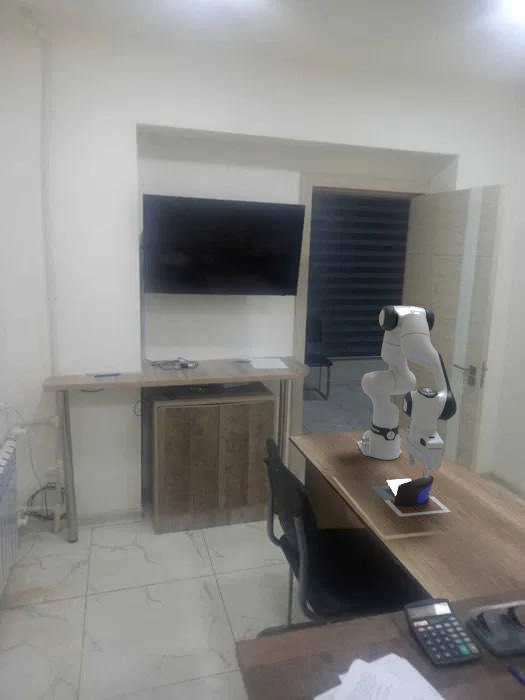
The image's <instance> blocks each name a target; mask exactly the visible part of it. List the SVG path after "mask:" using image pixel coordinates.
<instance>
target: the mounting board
mask: <svg viewBox="0 0 525 700" xmlns="http://www.w3.org/2000/svg"><path fill="white" fill-rule="evenodd" d="M371 489H372V490H374V492H375V493H376V494H377V495H378V496H379V497H380V498H381V499H382V500H383V501H384V502H385V503H386V505H388V506H389V507H390V508H391V509H392V510H393V511H394V512H395V514H396V515H397V516H398V517H410V516H411V517H413V516H420V515H421V516H422V515H423V516H424V515H431V514H443V513H452V510H450V509H449V508H448V507H446V505H444V504H443V503H442V502H441V501H439V499H437V498H436V497H435V496H434V495H433V494H431V493H430V494H429V498H428V499H431V501H433V502H434V503H435V504H436V505H438V507H439V508H440V509H439V510H431V511H419V512H408V513H403V512H402V511H400V509H398V507H396V506H397V505H395V503H394V504H393V503H392V501H395V497H394V495H393V494H392V492H391V490H390V488H389V487H388V485H380V486H377V485H376V486H371ZM441 509H442V510H441Z"/></svg>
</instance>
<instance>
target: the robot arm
mask: <svg viewBox="0 0 525 700" xmlns="http://www.w3.org/2000/svg"><path fill="white" fill-rule="evenodd" d="M380 310H381V311H380V313H379V316H378V321H379V322H378V323H379V326H380V327H381V329H382V330H384V331H385V332H384V334H383V341H382V347H381V351H380V357H381V359H382V361H384V362H385V363H386V364H387V365H388V369H387V370H375V371H371V372H367V373H364V375H363V377H362V378H361V383H360V384H361V388H362V389H361V390H363V393H364V394H366V395H367V396H368V397H369V398H370V400H371V403H372V408H373V417H372V421H371V422H370V427H369V428H370V429H369V430H367V431H365V432H364V433H363V434H362V436H361V440H359V441H357V446H358V448H359V450H360V451H361V453H362V455H363V456H365V457H372V458H374V459H379V460H384V461H386V460H395V459H398V458H399V457H400V455H401V454H403V450H405V451H406V452H407V456H408V465H409V466H411V467H415V466H416V460H417V461H418V462H419V463H420V464H422V465H423V467H424V471H422V478H423V477H425V478H428V477H429V476H430V473H431V472H432V471H439V470H440V469H441V466H442V460H443V449H442V448H444V446H445V441H444V440H443V439H442V438H441V436H440V435H439V432H438V431H437V430H438V425H437V420H440V421H448V420H451V418H453V417H454V416H455V415H456V413H457V402H456V398H455V396H454V393H453V390H452V388H451V384H450V381H449V377H448V374H447V370H446V365H445V363H444V360H443V357H442V355H441V353H440V352H438V351H437V350H436V349H435V347H434V346H433V344H432V341H431V333H430V332H431V331H432V330H433V328H434V326H435V321H436V320H435V318H436V317H435V314H434V312H433V310H432V309H431V308H427V307H419V306H413V305H384V306H383V307H382V309H380ZM408 361H410V362H412V363H413V364H417V365H419V366H421V367H424V368H426V369H428V370H429V371H430V373H432V374H431V375H432V376H433V379H434V384H435V387H436V389H434V388H432V387H426V386H421V387H418V388H417V389H416V387H417V378H416V376H415V374H414V373H413V372H412V371H411V370H410V368H409V365H408ZM415 389H416V390H415ZM396 395H397V396H398V395H403V400H402V411H403V413H404V414H405V415H406V416H407V417H408V418H411V421H410V425H409V426H407V427H406V431H405V432H404V435H403V440H402V444H401V437H400V435H399V430H400V428H399V427H400V426H399V418H400V417H399V416H400V410H399V408H398V406H397V404H395V403H393V402H391V396H396ZM401 445H402V448H403V450H402V449H401Z"/></svg>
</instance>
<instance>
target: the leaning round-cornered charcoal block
mask: <svg viewBox="0 0 525 700" xmlns="http://www.w3.org/2000/svg"><path fill="white" fill-rule="evenodd" d="M434 480H435V479H434V476H433V475H429V477H428V478H425V477H423V476H422V477H419V478H417V479H414V480H411V481H409V482H406V483H402V484H400V485H399V486H398V489H397V493H396V497H395V500H393V501H394V505H395V506H399V507H400V506H401V507H412V506H418V505H423V504H424V503H426V502H427V501H428V499H430V498H429V494H431V490H432V488H433V487H432V486H433V483H434Z"/></svg>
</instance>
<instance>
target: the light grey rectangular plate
mask: <svg viewBox="0 0 525 700" xmlns="http://www.w3.org/2000/svg"><path fill="white" fill-rule="evenodd" d="M409 481H412V479H411V478H401V479H400V478H399V479H387V480H386V481H385V483H386V486H388V487H389V488H390V490H391V492H392V494H393V495H394V497H396V493H397V489H398V486H399V485H400V484H402V483H406V482H409Z"/></svg>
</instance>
